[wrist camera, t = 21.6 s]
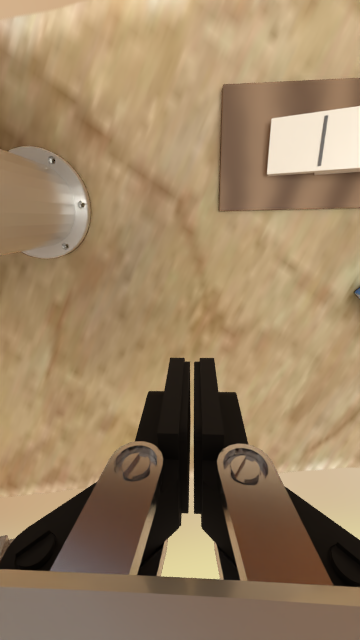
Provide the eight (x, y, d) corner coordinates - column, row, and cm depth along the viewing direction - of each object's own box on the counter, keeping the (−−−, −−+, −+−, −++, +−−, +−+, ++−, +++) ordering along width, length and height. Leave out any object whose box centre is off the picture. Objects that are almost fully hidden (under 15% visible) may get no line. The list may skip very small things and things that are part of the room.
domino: (266, 174, 29) (378, 166, 26) (271, 118, 28) (391, 101, 24) (268, 176, 31) (373, 169, 27) (273, 123, 29) (386, 108, 25)
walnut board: (218, 210, 33) (219, 210, 32) (222, 89, 29) (223, 84, 28) (461, 205, 32) (471, 204, 31) (502, 76, 28) (515, 70, 27)
